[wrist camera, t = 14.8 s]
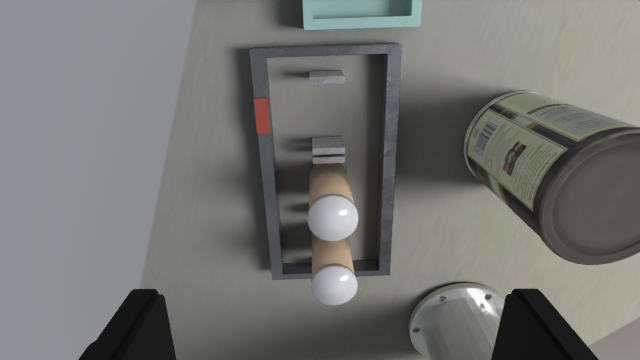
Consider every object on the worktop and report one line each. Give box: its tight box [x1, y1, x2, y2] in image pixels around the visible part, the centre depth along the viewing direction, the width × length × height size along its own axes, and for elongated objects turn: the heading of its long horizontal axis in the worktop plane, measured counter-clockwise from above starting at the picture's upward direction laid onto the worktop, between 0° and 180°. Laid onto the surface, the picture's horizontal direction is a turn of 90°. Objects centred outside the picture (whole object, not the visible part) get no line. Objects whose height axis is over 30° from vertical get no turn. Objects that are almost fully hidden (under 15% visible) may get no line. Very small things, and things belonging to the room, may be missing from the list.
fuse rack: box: [249, 43, 402, 280], centre depth 38 cm, size 13×24×4 cm, turn 2°
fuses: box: [308, 163, 358, 305], centre depth 37 cm, size 4×11×9 cm, turn 2°
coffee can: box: [463, 91, 640, 265], centre depth 32 cm, size 10×10×14 cm
